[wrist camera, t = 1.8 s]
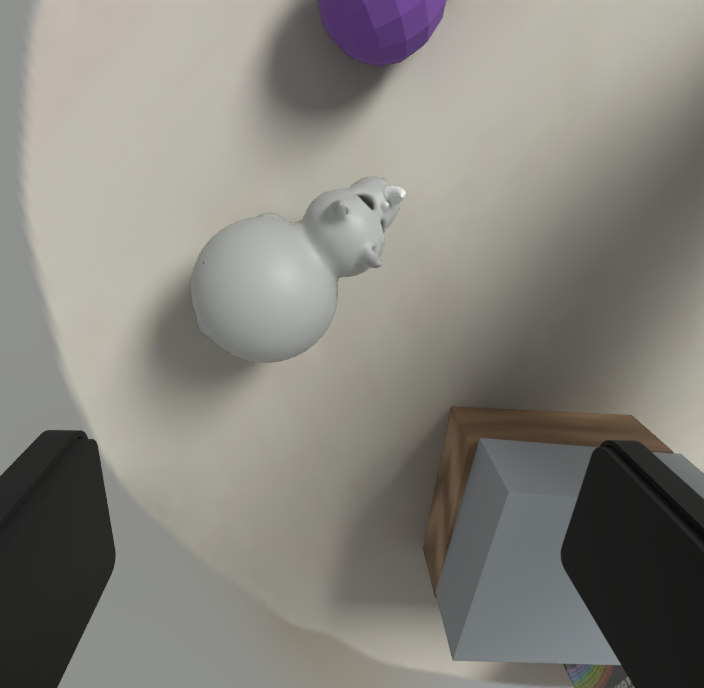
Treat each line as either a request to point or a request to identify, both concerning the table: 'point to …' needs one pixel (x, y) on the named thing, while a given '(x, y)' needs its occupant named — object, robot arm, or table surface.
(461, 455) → the walnut slab
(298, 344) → the white toy animal figurine
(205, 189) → the table surface
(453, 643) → the grey block
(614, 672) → the chalk box
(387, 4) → the purple maraca
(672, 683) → the robot arm
